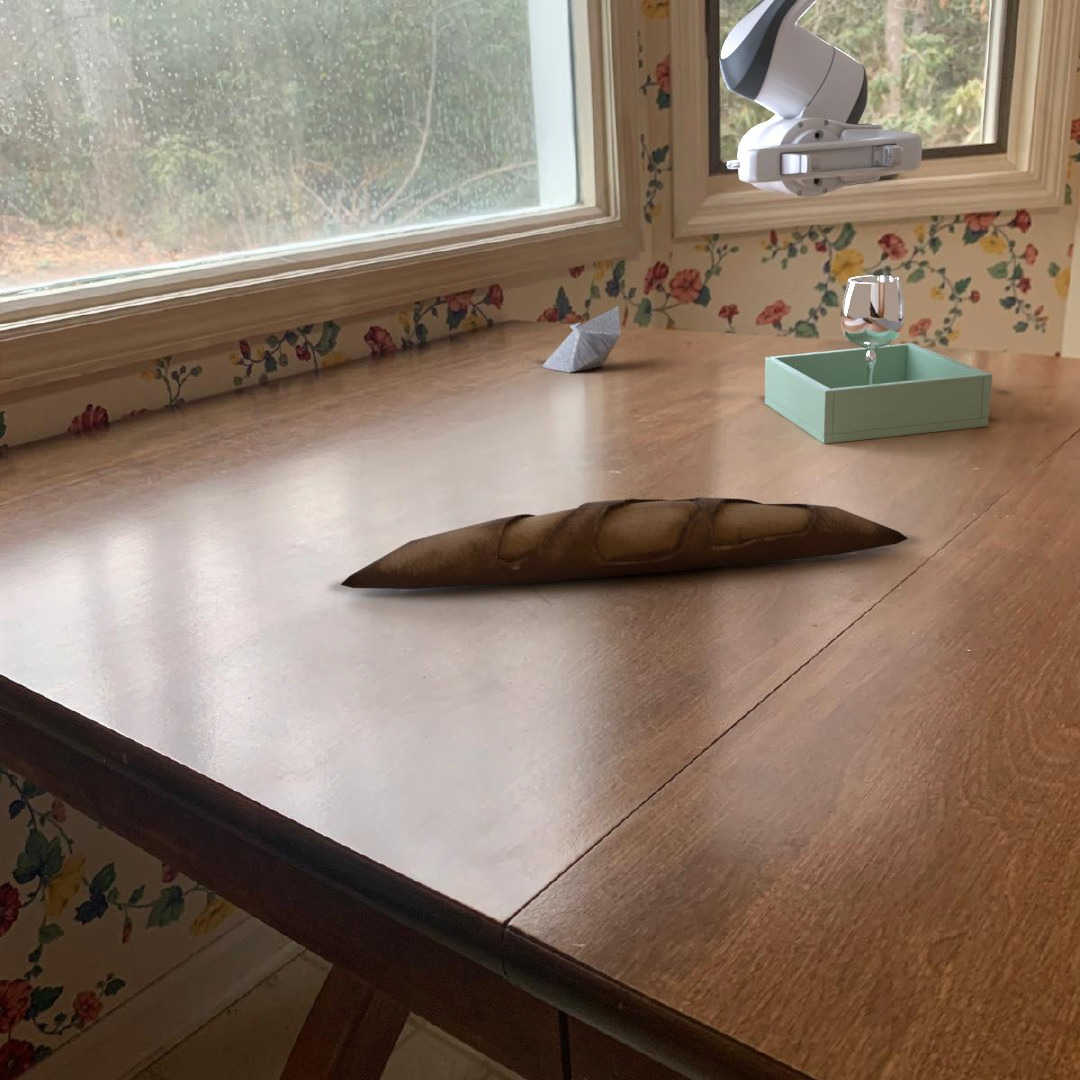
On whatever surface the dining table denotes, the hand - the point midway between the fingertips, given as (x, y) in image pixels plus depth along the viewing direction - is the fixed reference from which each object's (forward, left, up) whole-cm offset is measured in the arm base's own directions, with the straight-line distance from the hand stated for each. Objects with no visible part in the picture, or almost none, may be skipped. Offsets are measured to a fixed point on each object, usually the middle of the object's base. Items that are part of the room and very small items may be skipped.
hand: (856, 160), depth 115 cm
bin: (+6, +19, -22) cm, 30 cm away
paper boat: (+27, -15, -23) cm, 38 cm away
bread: (+37, +50, -23) cm, 66 cm away
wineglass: (+6, +19, -22) cm, 29 cm away
